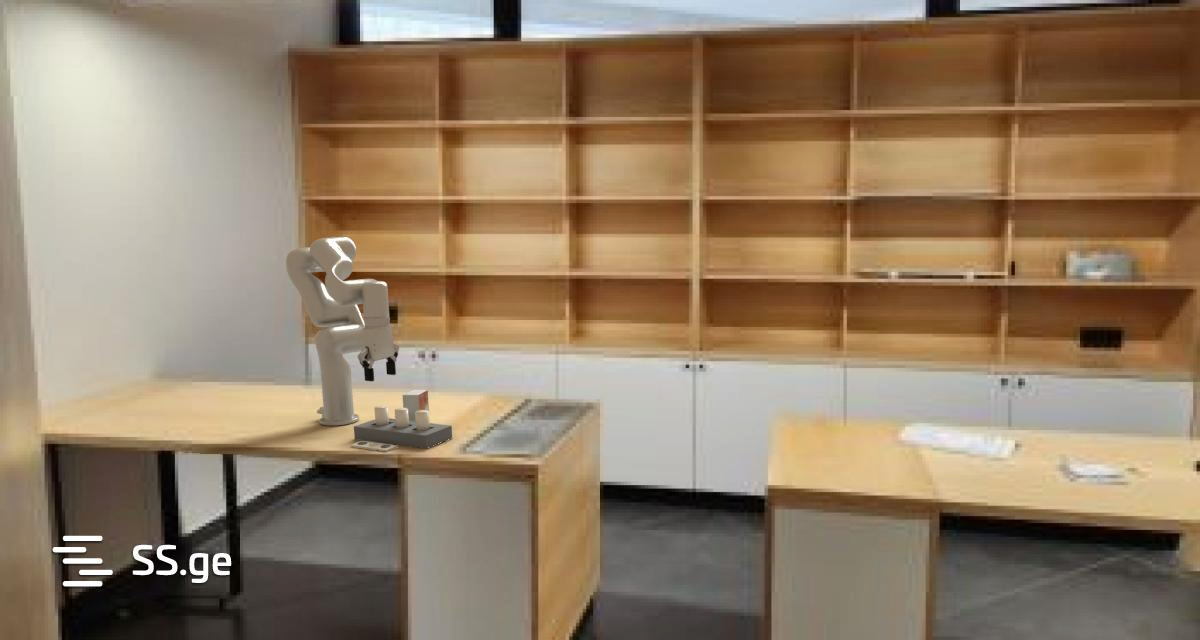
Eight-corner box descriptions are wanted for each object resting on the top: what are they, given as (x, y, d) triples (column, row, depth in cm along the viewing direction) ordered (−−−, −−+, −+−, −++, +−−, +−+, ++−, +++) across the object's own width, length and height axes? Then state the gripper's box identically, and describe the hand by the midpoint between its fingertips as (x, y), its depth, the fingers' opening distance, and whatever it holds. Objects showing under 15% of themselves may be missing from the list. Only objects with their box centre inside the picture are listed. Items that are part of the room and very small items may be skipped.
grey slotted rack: (354, 439, 283) (353, 426, 282) (381, 429, 293) (380, 417, 292) (426, 448, 269) (425, 435, 268) (452, 438, 279) (451, 425, 279)
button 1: (373, 429, 284) (371, 407, 283) (382, 426, 287) (380, 405, 286) (383, 430, 282) (381, 409, 281) (392, 427, 285) (390, 406, 284)
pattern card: (350, 446, 274) (350, 444, 274) (362, 442, 278) (362, 439, 278) (386, 451, 267) (386, 449, 267) (398, 447, 272) (397, 444, 271)
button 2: (393, 431, 280) (391, 410, 279) (402, 428, 283) (400, 407, 282) (403, 433, 278) (401, 411, 277) (412, 429, 281) (410, 408, 280)
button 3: (413, 434, 276) (412, 412, 275) (422, 431, 279) (421, 409, 278) (424, 435, 274) (422, 413, 273) (432, 432, 277) (431, 410, 276)
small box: (420, 427, 294) (418, 395, 293) (404, 427, 295) (401, 394, 294) (430, 421, 302) (428, 389, 300) (414, 420, 303) (412, 389, 302)
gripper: (386, 317, 289) (390, 371, 292) (347, 325, 274) (351, 382, 277) (405, 318, 286) (408, 373, 288) (366, 327, 271) (370, 384, 273)
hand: (380, 377), depth 282 cm, fingers open, 9 cm apart
